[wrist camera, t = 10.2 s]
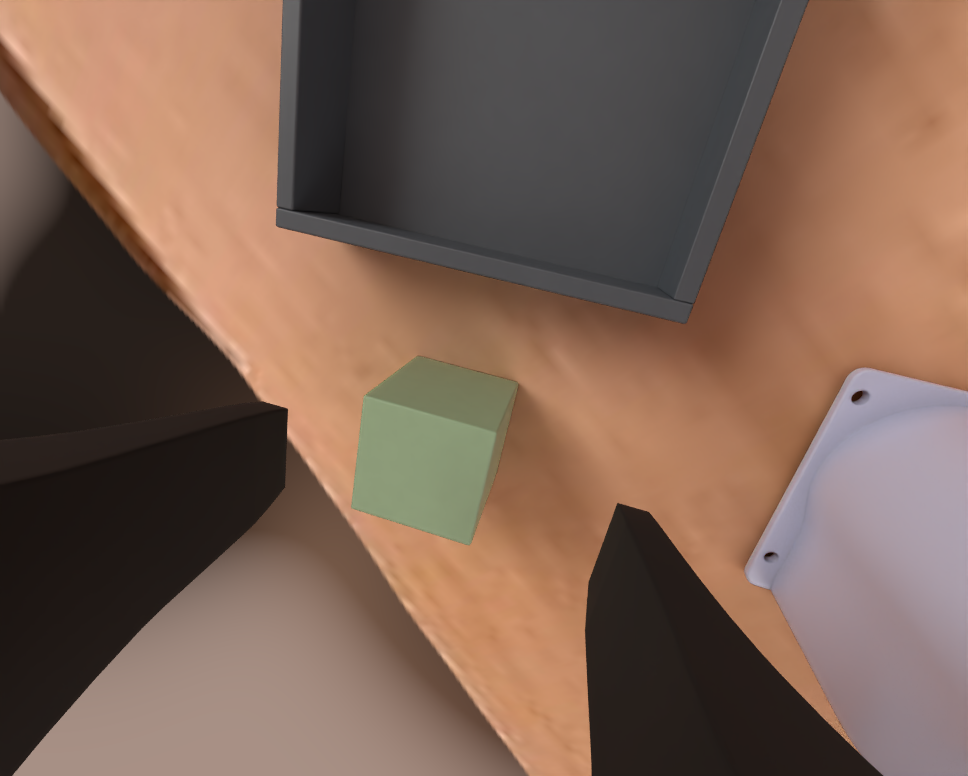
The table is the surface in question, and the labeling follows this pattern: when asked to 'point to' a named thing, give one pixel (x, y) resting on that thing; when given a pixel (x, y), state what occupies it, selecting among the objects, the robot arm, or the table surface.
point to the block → (432, 446)
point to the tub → (529, 134)
